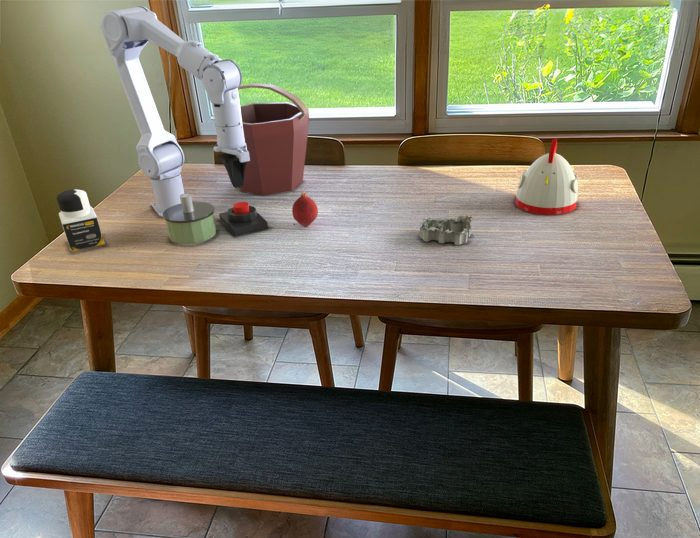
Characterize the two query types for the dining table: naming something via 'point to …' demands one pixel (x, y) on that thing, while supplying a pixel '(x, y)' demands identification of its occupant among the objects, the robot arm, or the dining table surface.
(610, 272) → the dining table surface
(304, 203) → the onion
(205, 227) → the pot
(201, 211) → the lid
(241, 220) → the button housing
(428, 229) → the egg carton
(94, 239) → the medicine bottle
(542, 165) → the kitchen timer
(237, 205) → the button
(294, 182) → the bucket
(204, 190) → the dining table surface
